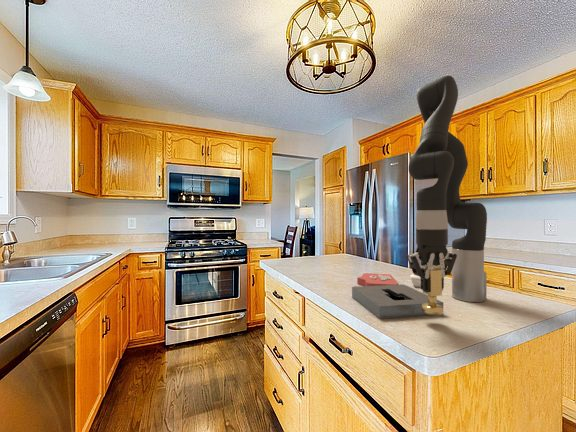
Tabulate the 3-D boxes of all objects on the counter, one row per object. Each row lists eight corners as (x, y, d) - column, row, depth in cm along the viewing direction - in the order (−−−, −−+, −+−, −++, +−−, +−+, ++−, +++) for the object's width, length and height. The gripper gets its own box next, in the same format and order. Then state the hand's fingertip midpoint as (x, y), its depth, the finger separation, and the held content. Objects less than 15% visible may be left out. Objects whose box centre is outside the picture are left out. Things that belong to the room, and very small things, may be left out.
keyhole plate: (403, 294, 98) (403, 284, 98) (443, 314, 78) (443, 302, 78) (352, 297, 95) (352, 286, 95) (379, 319, 75) (379, 306, 75)
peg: (434, 307, 75) (433, 266, 75) (447, 314, 70) (447, 270, 70) (418, 309, 74) (417, 267, 74) (430, 316, 69) (430, 271, 69)
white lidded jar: (420, 283, 112) (420, 267, 112) (430, 287, 106) (430, 270, 106) (406, 284, 111) (406, 267, 111) (415, 288, 105) (415, 270, 105)
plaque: (355, 271, 121) (390, 272, 118) (355, 279, 121) (390, 281, 118) (359, 281, 103) (399, 283, 101) (359, 291, 103) (399, 293, 101)
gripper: (444, 225, 76) (445, 285, 77) (399, 227, 74) (400, 289, 74) (466, 227, 69) (466, 293, 69) (416, 228, 67) (417, 297, 67)
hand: (432, 290), depth 72 cm, fingers closed on peg, 3 cm apart
